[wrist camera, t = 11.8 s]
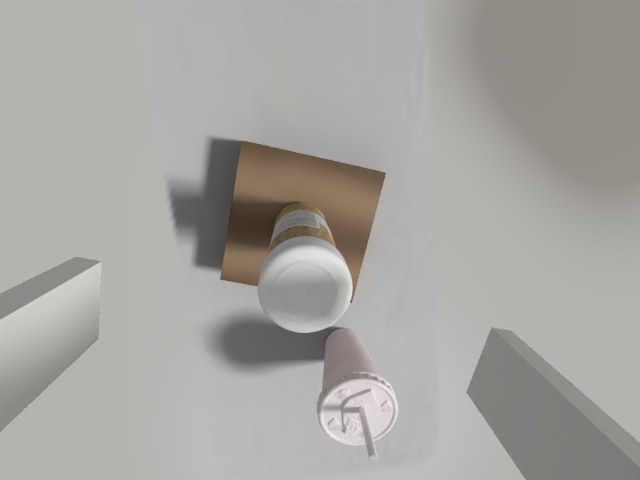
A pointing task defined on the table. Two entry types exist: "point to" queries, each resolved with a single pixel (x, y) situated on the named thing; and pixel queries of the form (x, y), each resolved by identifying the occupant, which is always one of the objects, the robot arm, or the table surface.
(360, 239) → the walnut base
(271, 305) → the sprinkles bottle
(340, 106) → the table surface
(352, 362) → the smoothie
